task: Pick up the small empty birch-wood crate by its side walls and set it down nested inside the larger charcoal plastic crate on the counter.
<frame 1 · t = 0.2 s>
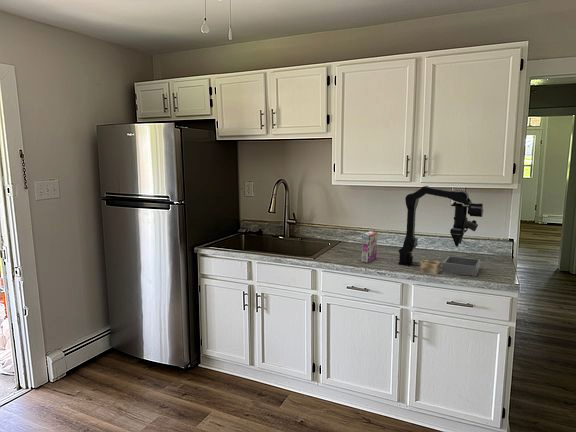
hand: (458, 244, 212), 14 cm above the counter, fingers open, 9 cm apart
charcoal crate: (461, 270, 216), on the counter
birch crate: (429, 271, 214), on the counter
candy bar box: (368, 261, 236), on the counter
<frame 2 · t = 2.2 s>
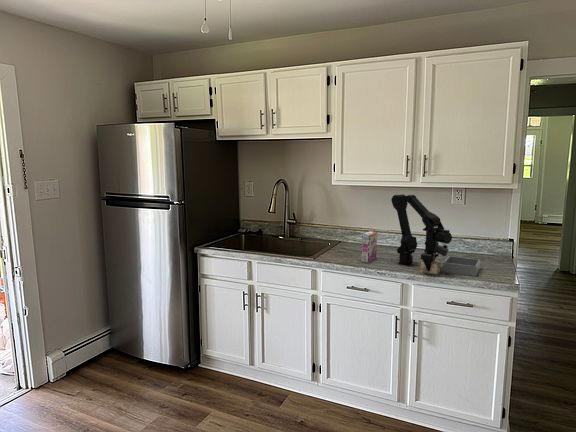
hand: (430, 269, 214), 1 cm above the counter, fingers closed on birch crate, 6 cm apart
birch crate: (429, 271, 214), on the counter, touching gripper
everything else where it was.
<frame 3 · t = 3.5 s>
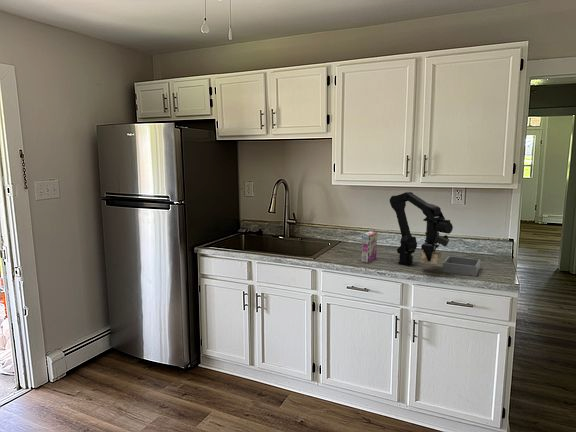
hand: (430, 259, 213), 6 cm above the counter, fingers closed on birch crate, 6 cm apart
birch crate: (430, 261, 213), point 5 cm above the counter, touching gripper
everything else where it was.
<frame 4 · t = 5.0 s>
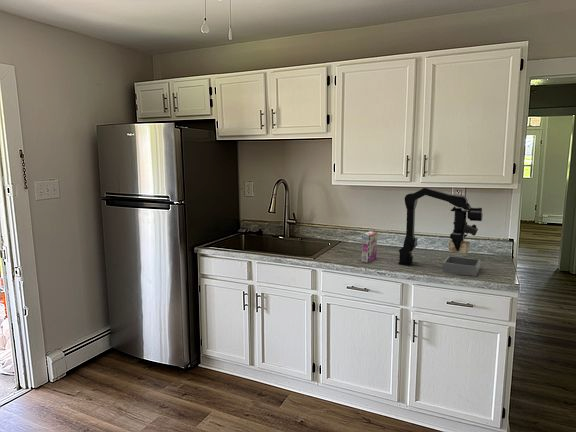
hand: (458, 249, 213), 11 cm above the counter, fingers closed on birch crate, 6 cm apart
birch crate: (458, 251, 213), point 10 cm above the counter, touching gripper
everything else where it was.
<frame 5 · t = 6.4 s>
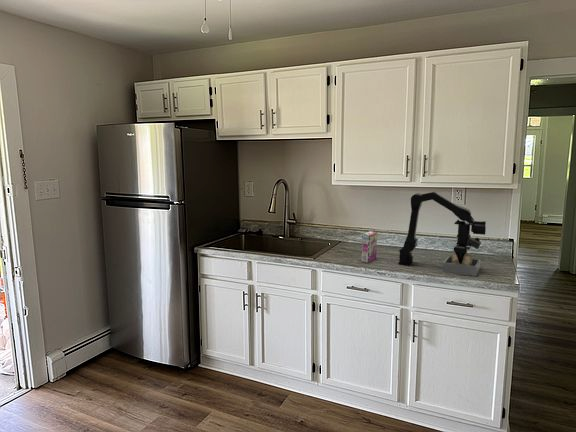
hand: (461, 261, 215), 4 cm above the counter, fingers closed on birch crate, 6 cm apart
birch crate: (461, 263, 215), point 3 cm above the counter, touching gripper
everything else where it was.
when the fingers open (3 cm above the counter, at t = 7.6 s): birch crate drops 1 cm, resting on charcoal crate.
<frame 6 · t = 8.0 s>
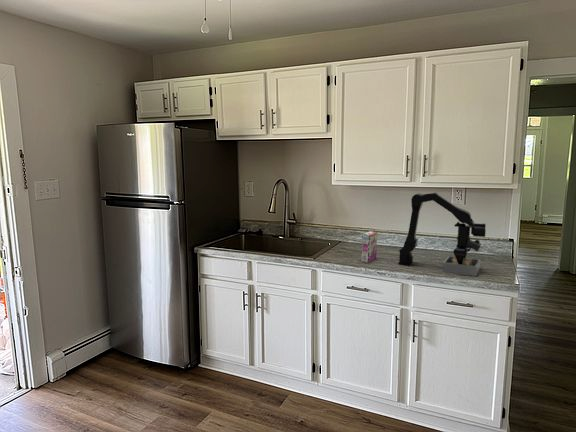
hand: (461, 264, 215), 3 cm above the counter, fingers open, 9 cm apart
birch crate: (461, 268, 216), point 1 cm above the counter, touching charcoal crate
everything else where it was.
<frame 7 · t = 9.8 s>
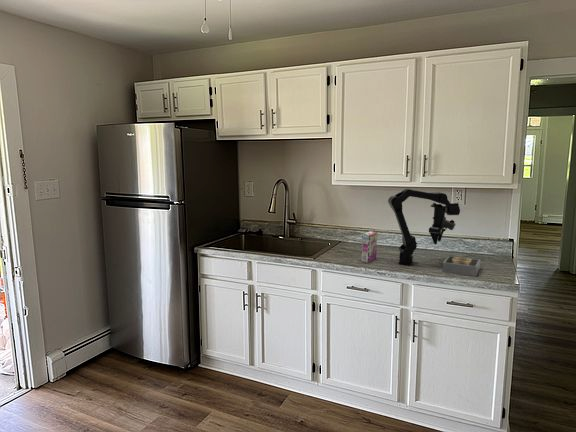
hand: (437, 242, 227), 12 cm above the counter, fingers open, 9 cm apart
nothing on the counter moved.
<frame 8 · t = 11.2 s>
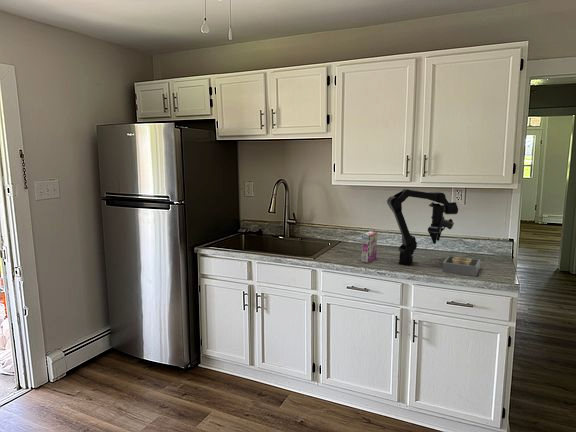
hand: (436, 242, 228), 12 cm above the counter, fingers open, 9 cm apart
nothing on the counter moved.
at the end: birch crate inside the target area on the charcoal crate (0.0 cm from its centre), point 0.8 cm above the charcoal crate's base; birch crate tilted 0°; the gripper is holding nothing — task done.
